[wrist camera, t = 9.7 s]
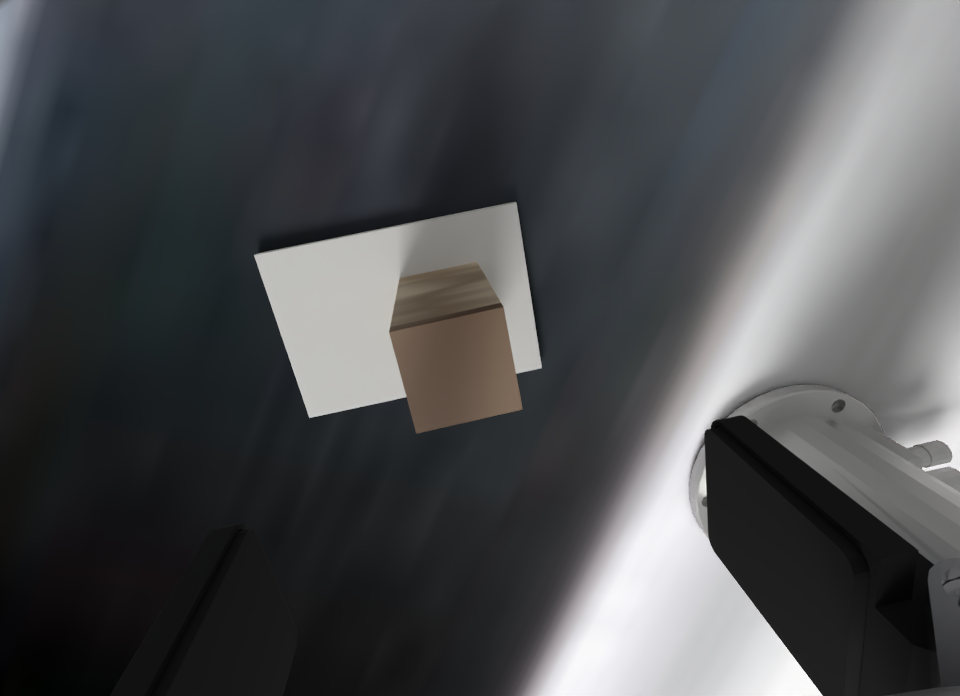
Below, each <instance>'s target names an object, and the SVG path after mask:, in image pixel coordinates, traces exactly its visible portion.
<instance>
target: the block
mask: <svg viewBox="0 0 960 696" xmlns="http://www.w3.org/2000/svg"><path fill="white" fill-rule="evenodd" d="M389 334H390V338H391V341H392V345H393V349H394V352H395V356H396V360H397V363H398V367H399V371H400V375H401V378H402V382H403V386H404V389H405V393H406V397H407V400H408V404H409V408H410V411H411V415H412V419H413V422H414V426H415V430H416V433H421V432H425V431H430V430H434V429H438V428H443V427H447V426H452V425H456V424H460V423H465V422H469V421H474V420H478V419H482V418H487V417H491V416H496V415H500V414H505V413H509V412H513V411H518V410H522V404H521V398H520V393H519V387H518V382H517V377H516V371H515V366H514V360H513V355H512V349H511V344H510V339H509V333H508V328H507V322H506V317H505V312H504V307H503V305H502V303H501V302H500V300H499V298H498V297H497V295H496V293H495V292H494V290H493V288H492V286H491V285H490V283H489V281H488V280H487V278H486V276H485V275H484V273H483V271H482V270H481V268H480V266H479V264H478V263H477V262H472V263H468V264H463V265H458V266H454V267H449V268H444V269H440V270H435V271H431V272H426V273H421V274H417V275H412V276H407V277H403V278H399V283H398V288H397V294H396V299H395V304H394V309H393V314H392V319H391V324H390V330H389Z"/></svg>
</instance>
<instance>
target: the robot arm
mask: <svg viewBox="0 0 960 696" xmlns="http://www.w3.org/2000/svg"><path fill="white" fill-rule="evenodd" d="M704 438H705V444H704V445H703V447H702V448H701V450H700V452H699V454H698V457H697V459H696V461H695V464H694V466H693V470H692V474H691V479H690V483H689V500H690V504H691V509H692V513H693V515H694V517H695V519H696V521H697V523H698V525H699V527H700V528H701V529H702V530H703V532H704V533H705V534H706V536H707V537H708V538H709V540H710V543H711V546H712V548H713V550H714V552H715V553H716V554H717V556H718V557H719V558H720V560H721V561H722V562H723V564H724V565H725V566H726V568H727V569H728V570H729V572H730V573H731V574H732V576H733V577H734V578H735V580H736V581H737V582H738V584H739V585H740V586H741V588H742V589H743V590H744V592H745V593H746V594H747V596H748V597H749V598H750V600H751V601H752V602H753V604H754V605H755V606H756V607H757V609H758V610H759V611H760V613H761V614H762V615H763V617H764V618H765V619H766V621H767V622H768V623H769V625H770V626H771V627H772V629H773V630H774V631H775V633H776V634H777V635H778V637H779V638H780V639H781V641H782V642H783V643H784V645H785V646H786V647H787V649H788V650H789V651H790V653H791V654H792V655H793V657H794V658H795V659H796V661H797V662H798V663H799V664H800V666H801V667H802V668H803V670H804V671H805V672H806V674H807V675H808V676H809V678H810V679H811V680H812V682H813V683H814V684H815V686H816V687H817V688H818V690H819V691H820V692H821V694H822V695H823V696H960V472H959V471H958V470H957V469H954V468H951V467H944V468H939V469H935V470H931V471H926V472H925V471H924V470H922V467H925V468H927V467H931V466H935V465H940V464H944V463H948V462H950V461H951V459H952V452H951V450H950V449H949V447H948V446H947V445H946V444H945V443H943V442H941V441H938V440H936V441H932V442H927V443H923V444H918V445H915V446H913V447H910V448H906V447H904V446H902V445H900V444H898V443H896V442H895V441H893V440H891V439H890V438H888V437H886V436H884V434H883V431H882V428H881V425H880V423H879V422H878V420H877V418H876V417H875V415H874V414H873V412H872V411H870V410H869V409H868V408H867V407H866V406H865V405H864V404H863V403H862V402H860V401H858V400H857V399H855V398H853V397H851V396H850V395H848V394H846V393H844V392H841V391H839V390H836V389H834V388H831V387H827V386H821V385H814V384H809V385H793V386H788V387H784V388H779V389H775V390H773V391H770V392H768V393H765V394H763V395H760V396H758V397H756V398H754V399H752V400H751V401H749V402H747V403H746V404H744V405H742V406H741V407H739V408H738V409H737V410H735V411H734V412H733V413H732V414H730V415H729V416H728V417H727V418H725V419H721V420H716V421H714V422H713V423H712V425H711V429H708V430H706V431H705V437H704ZM296 644H297V632H296V627H295V624H294V621H293V619H292V617H291V614H290V612H289V609H288V607H287V605H286V602H285V600H284V597H283V595H282V592H281V590H280V588H279V585H278V583H277V580H276V578H275V576H274V573H273V571H272V568H271V566H270V563H269V561H268V559H267V556H266V554H265V551H264V549H263V547H262V544H261V542H260V539H259V537H258V534H257V533H256V531H255V530H254V529H247V527H246V526H245V525H244V524H241V523H240V524H235V525H230V526H226V527H221V528H217V529H213V530H211V531H210V532H209V533H208V534H207V536H206V537H205V539H204V541H203V542H202V544H201V546H200V547H199V549H198V551H197V552H196V554H195V556H194V557H193V559H192V561H191V562H190V564H189V565H188V567H187V569H186V570H185V572H184V574H183V575H182V577H181V579H180V580H179V582H178V584H177V585H176V587H175V589H174V590H173V592H172V594H171V595H170V597H169V599H168V600H167V602H166V604H165V605H164V607H163V609H162V610H161V612H160V614H159V615H158V617H157V619H156V620H155V622H154V623H153V625H152V627H151V628H150V630H149V632H148V633H147V635H146V637H145V638H144V640H143V642H142V643H141V645H140V647H139V648H138V650H137V652H136V653H135V655H134V657H133V658H132V660H131V662H130V663H129V665H128V667H127V668H126V670H125V672H124V673H123V675H122V677H121V678H120V680H119V681H118V683H117V685H116V686H115V688H114V690H113V691H112V693H111V695H110V696H283V693H284V689H285V685H286V682H287V678H288V674H289V671H290V667H291V664H292V660H293V656H294V653H295V649H296Z"/></svg>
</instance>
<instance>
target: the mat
mask: <svg viewBox="0 0 960 696" xmlns="http://www.w3.org/2000/svg"><path fill="white" fill-rule="evenodd" d="M254 256H255V259H256V262H257V265H258V268H259V271H260V274H261V277H262V280H263V283H264V286H265V289H266V292H267V295H268V297H269V300H270V303H271V306H272V309H273V312H274V315H275V318H276V321H277V324H278V327H279V330H280V333H281V336H282V339H283V342H284V345H285V347H286V350H287V353H288V356H289V359H290V362H291V365H292V368H293V371H294V374H295V377H296V380H297V383H298V386H299V389H300V392H301V395H302V397H303V400H304V403H305V406H306V409H307V412H308V415H309V418H311V417H316V416H320V415H325V414H330V413H334V412H339V411H344V410H348V409H353V408H358V407H362V406H367V405H372V404H376V403H381V402H386V401H390V400H395V399H400V398H404V397H406V393H405V389H404V386H403V382H402V378H401V375H400V371H399V367H398V363H397V360H396V356H395V352H394V349H393V345H392V341H391V338H390V334H389V330H390V324H391V319H392V314H393V309H394V304H395V299H396V294H397V288H398V283H399V278H403V277H407V276H412V275H417V274H421V273H426V272H431V271H435V270H440V269H444V268H449V267H454V266H458V265H463V264H468V263H472V262H477V263H478V264H479V266H480V268H481V270H482V271H483V273H484V275H485V276H486V278H487V280H488V281H489V283H490V285H491V286H492V288H493V290H494V292H495V293H496V295H497V297H498V298H499V300H500V302H501V303H502V305H503V307H504V312H505V317H506V322H507V328H508V333H509V339H510V344H511V349H512V355H513V360H514V366H515V371H516V373H521V372H526V371H530V370H535V369H540V368H542V366H541V359H540V353H539V346H538V340H537V333H536V327H535V320H534V314H533V307H532V300H531V294H530V287H529V281H528V274H527V268H526V261H525V255H524V248H523V242H522V235H521V229H520V222H519V215H518V209H517V203H516V202H511V203H506V204H501V205H496V206H491V207H486V208H481V209H476V210H471V211H466V212H461V213H456V214H451V215H446V216H441V217H436V218H431V219H426V220H421V221H416V222H411V223H406V224H401V225H396V226H391V227H386V228H381V229H376V230H371V231H366V232H361V233H356V234H351V235H346V236H341V237H336V238H331V239H326V240H321V241H316V242H311V243H306V244H301V245H296V246H291V247H286V248H281V249H276V250H272V251H267V252H262V253H257V254H255V255H254Z"/></svg>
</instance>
